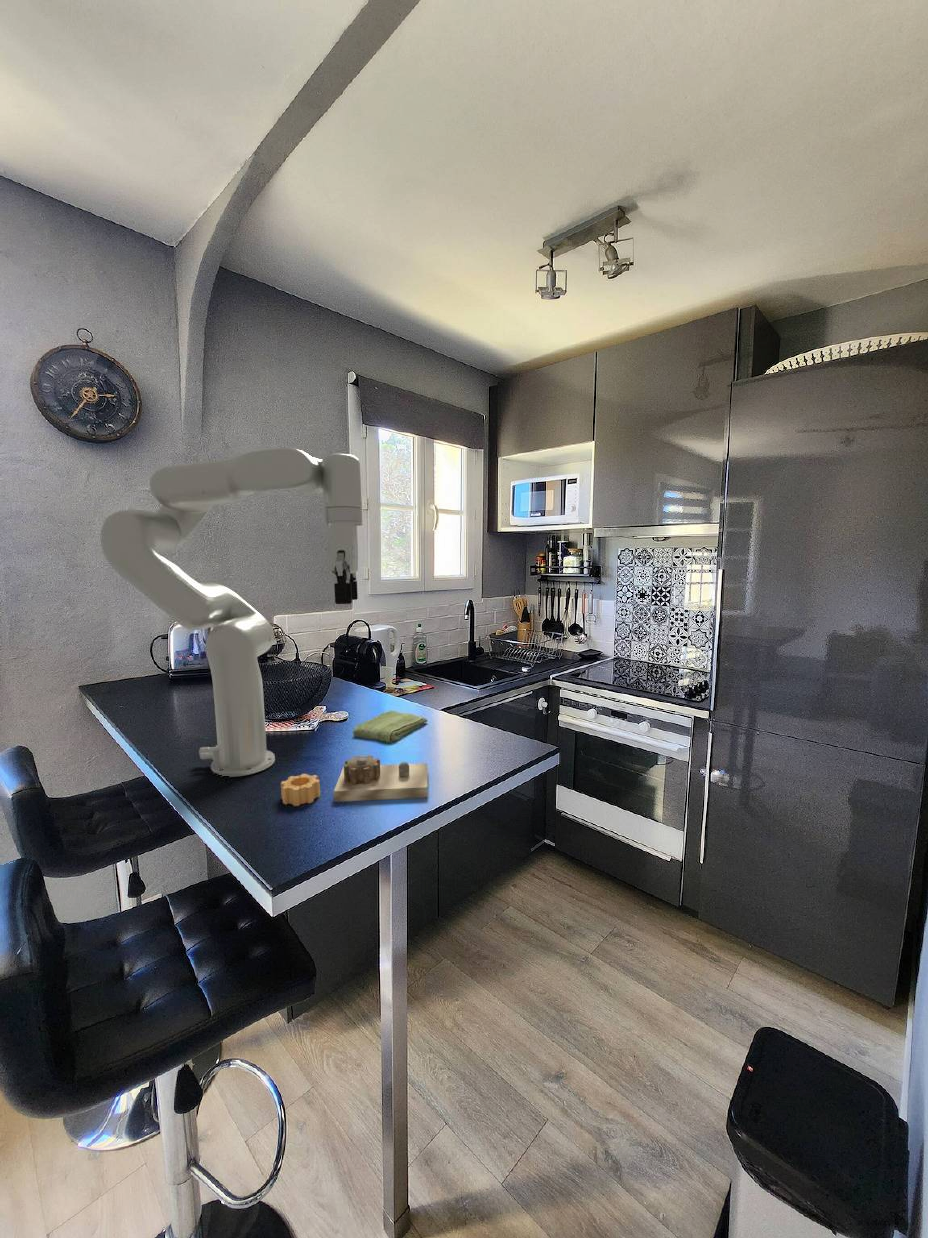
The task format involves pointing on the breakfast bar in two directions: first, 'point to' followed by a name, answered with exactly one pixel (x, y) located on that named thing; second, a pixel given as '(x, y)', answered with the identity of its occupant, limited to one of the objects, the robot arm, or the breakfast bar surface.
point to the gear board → (380, 780)
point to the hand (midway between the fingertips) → (347, 601)
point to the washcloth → (389, 726)
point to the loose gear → (300, 789)
